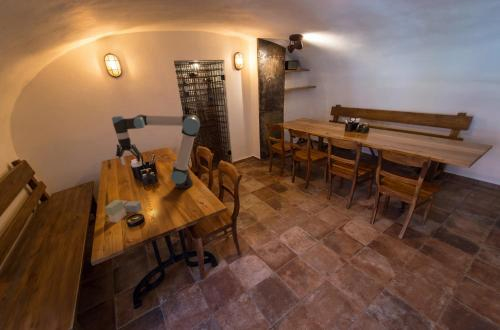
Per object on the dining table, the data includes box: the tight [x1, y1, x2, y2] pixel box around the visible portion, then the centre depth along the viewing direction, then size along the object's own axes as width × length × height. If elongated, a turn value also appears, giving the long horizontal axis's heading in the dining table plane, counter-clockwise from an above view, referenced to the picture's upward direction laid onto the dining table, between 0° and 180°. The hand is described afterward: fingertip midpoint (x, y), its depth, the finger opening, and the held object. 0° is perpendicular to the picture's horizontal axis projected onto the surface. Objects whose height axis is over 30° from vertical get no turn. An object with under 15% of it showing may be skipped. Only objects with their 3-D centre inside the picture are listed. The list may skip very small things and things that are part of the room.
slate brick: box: [124, 200, 143, 214], centre depth 149 cm, size 9×5×6 cm, turn 81°
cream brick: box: [107, 208, 128, 224], centre depth 141 cm, size 5×9×6 cm, turn 167°
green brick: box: [104, 199, 124, 216], centre depth 138 cm, size 5×9×6 cm, turn 167°
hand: (131, 165), depth 156 cm, fingers open, 13 cm apart
